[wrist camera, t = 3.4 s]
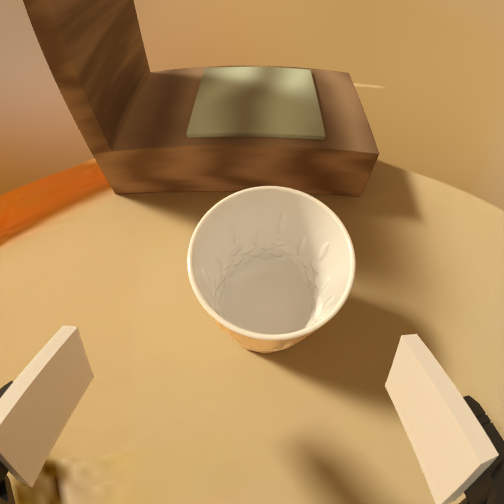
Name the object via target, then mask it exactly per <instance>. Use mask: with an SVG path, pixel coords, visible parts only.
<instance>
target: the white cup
mask: <svg viewBox="0 0 504 504" xmlns="http://www.w3.org/2000/svg"><path fill="white" fill-rule="evenodd" d="M187 266H188V274H189V279H190V282H191V285H192V288H193V290H194V293H195V295H196V297H197V298H198V300H199V302H200V303H201V305H202V306H203V307H204V308H205V310H206V311H207V312H208V313H209V315H210V316H211V317H212V318H213V320H214V321H215V322H216V323H217V325H218V326H219V327H220V328H221V329H222V330H223V331H224V332H225V333H226V334H227V335H228V336H229V337H230V338H231V339H232V340H233V341H235V342H236V343H238V344H239V345H241V346H242V347H243V348H245V349H247V350H251V351H256V352H260V353H265V354H267V353H271V352H275V351H279V350H283V349H286V348H288V347H290V346H293V345H295V344H296V343H298V342H300V341H302V340H303V339H305V338H306V337H307V336H309V335H310V334H312V333H313V332H314V331H316V330H317V329H319V328H320V327H321V326H323V325H324V324H326V323H327V322H328V321H329V320H330V319H332V318H333V317H334V316H335V315H336V314H337V312H338V311H339V310H340V309H341V307H342V306H343V305H344V303H345V301H346V300H347V298H348V296H349V294H350V291H351V289H352V286H353V282H354V277H355V269H356V260H355V252H354V247H353V244H352V241H351V238H350V236H349V234H348V232H347V230H346V228H345V226H344V225H343V223H342V222H341V220H340V219H339V218H338V217H337V215H336V214H335V213H334V212H333V211H332V210H331V209H330V208H329V207H327V206H326V205H325V204H324V203H322V202H321V201H319V200H318V199H316V198H314V197H312V196H310V195H308V194H306V193H304V192H301V191H298V190H295V189H291V188H286V187H279V186H260V187H253V188H248V189H245V190H241V191H239V192H236V193H234V194H231V195H229V196H228V197H226V198H224V199H222V200H221V201H219V202H218V203H217V204H215V205H214V206H213V207H212V208H211V209H210V210H209V211H208V212H207V213H206V214H205V215H204V216H203V218H202V219H201V220H200V222H199V223H198V225H197V227H196V229H195V231H194V233H193V235H192V238H191V241H190V244H189V249H188V258H187Z"/></svg>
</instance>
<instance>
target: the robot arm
mask: <svg viewBox="0 0 504 504" xmlns="http://www.w3.org/2000/svg"><path fill="white" fill-rule="evenodd" d="M93 377H94V376H93V373H92V370H91V368H90V365H89V362H88V359H87V356H86V353H85V350H84V347H83V343H82V340H81V337H80V334H79V330H78V327H74V326H67V325H63V326H62V327H61V329H60V330H59V331H58V332H57V333H56V334H55V335H54V336H53V337H52V338H51V339H50V340H49V342H48V343H47V344H46V345H45V346H44V347H43V348H42V349H41V350H40V352H39V353H38V354H37V355H36V356H35V357H34V358H33V360H32V361H31V362H30V363H29V364H28V365H27V366H26V368H25V369H24V370H23V371H22V372H21V373H20V375H19V376H18V377H17V378H16V379H15V381H14V382H13V381H11V382H9V383H8V384H6V385H5V386H3V387H2V388H1V389H0V504H15V500H14V496H13V492H12V488H11V483H10V480H9V478H8V476H7V473H8V471H9V472H10V473H11V474H12V475H13V476H14V477H15V478H16V479H17V480H19V481H21V482H23V483H24V484H26V485H28V486H30V487H33V485H34V483H35V481H36V479H37V477H38V475H39V473H40V471H41V469H42V467H43V465H44V463H45V461H46V459H47V457H48V455H49V454H50V452H51V450H52V448H53V446H54V444H55V442H56V441H57V439H58V437H59V435H60V433H61V432H62V430H63V428H64V426H65V425H66V423H67V421H68V419H69V418H70V416H71V414H72V412H73V411H74V409H75V407H76V406H77V404H78V402H79V400H80V399H81V397H82V395H83V394H84V392H85V390H86V389H87V387H88V386H89V384H90V382H91V381H92V379H93ZM385 387H386V389H387V391H388V393H389V396H390V398H391V400H392V402H393V404H394V406H395V408H396V411H397V413H398V415H399V417H400V419H401V422H402V424H403V426H404V428H405V431H406V433H407V435H408V437H409V440H410V442H411V444H412V447H413V449H414V451H415V454H416V456H417V459H418V461H419V463H420V466H421V468H422V471H423V473H424V476H425V478H426V481H427V483H428V486H429V488H430V491H431V493H432V496H433V499H434V501H435V504H448V503H450V502H452V501H455V500H456V499H457V498H458V497H459V496H460V495H461V494H462V493H463V492H464V493H465V495H466V498H465V499H464V500H462V501H461V502H460V503H459V504H504V441H503V439H502V437H501V436H500V434H499V433H498V431H497V430H496V428H495V426H494V425H493V423H491V422H490V421H491V420H490V419H489V417H488V416H487V415H485V411H484V410H483V409H482V407H481V406H480V404H479V403H478V402H477V401H475V400H474V399H473V398H471V397H470V396H465V397H462V396H461V394H460V393H459V391H458V390H457V388H456V387H455V385H454V384H453V383H452V381H451V380H450V378H449V377H448V375H447V374H446V373H445V371H444V370H443V368H442V367H441V366H440V364H439V363H438V361H437V360H436V359H435V357H434V356H433V355H432V353H431V352H430V351H429V349H428V348H427V347H426V345H425V344H424V343H423V341H422V340H421V339H420V337H419V336H418V335H417V334H410V335H401V338H400V341H399V345H398V348H397V351H396V354H395V357H394V361H393V364H392V367H391V370H390V372H389V375H388V378H387V381H386V384H385Z"/></svg>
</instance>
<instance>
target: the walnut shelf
mask: <svg viewBox="0 0 504 504" xmlns="http://www.w3.org/2000/svg"><path fill="white" fill-rule="evenodd" d="M23 2H24V4H25V7H26V10H27V13H28V16H29V18H30V21H31V24H32V27H33V29H34V31H35V34H36V36H37V39H38V42H39V44H40V47H41V49H42V51H43V54H44V56H45V58H46V61H47V63H48V65H49V68H50V70H51V72H52V74H53V77H54V79H55V81H56V83H57V85H58V87H59V89H60V91H61V94H62V96H63V98H64V100H65V102H66V104H67V106H68V108H69V110H70V112H71V114H72V116H73V118H74V120H75V122H76V124H77V126H78V128H79V130H80V132H81V134H82V135H83V137H84V139H85V141H86V143H87V145H88V147H89V149H90V150H91V152H92V154H93V156H94V158H95V159H96V161H97V163H98V165H99V167H100V168H101V170H102V172H103V174H104V175H105V177H106V179H107V180H108V182H109V184H110V186H111V187H112V189H113V191H114V192H115V194H122V193H146V192H189V191H241V190H245V189H248V188H253V187H260V186H279V187H286V188H291V189H295V190H298V191H301V192H304V193H310V194H329V195H346V196H360V195H361V193H362V190H363V188H364V186H365V184H366V182H367V180H368V178H369V175H370V173H371V171H372V169H373V167H374V164H375V162H376V160H377V158H378V155H379V153H378V149H377V146H376V143H375V140H374V137H373V134H372V131H371V128H370V126H369V123H368V120H367V117H366V115H365V112H364V109H363V107H362V104H361V102H360V99H359V97H358V94H357V92H356V89H355V87H354V84H353V82H352V80H351V77H350V75H349V73H344V72H337V71H329V70H320V69H308V68H296V67H279V66H278V67H277V66H216V67H215V66H214V67H197V68H184V69H175V70H165V71H157V72H150V69H149V65H148V61H147V58H146V53H145V49H144V45H143V41H142V37H141V33H140V28H139V24H138V19H137V15H136V10H135V5H134V1H133V0H23Z"/></svg>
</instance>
